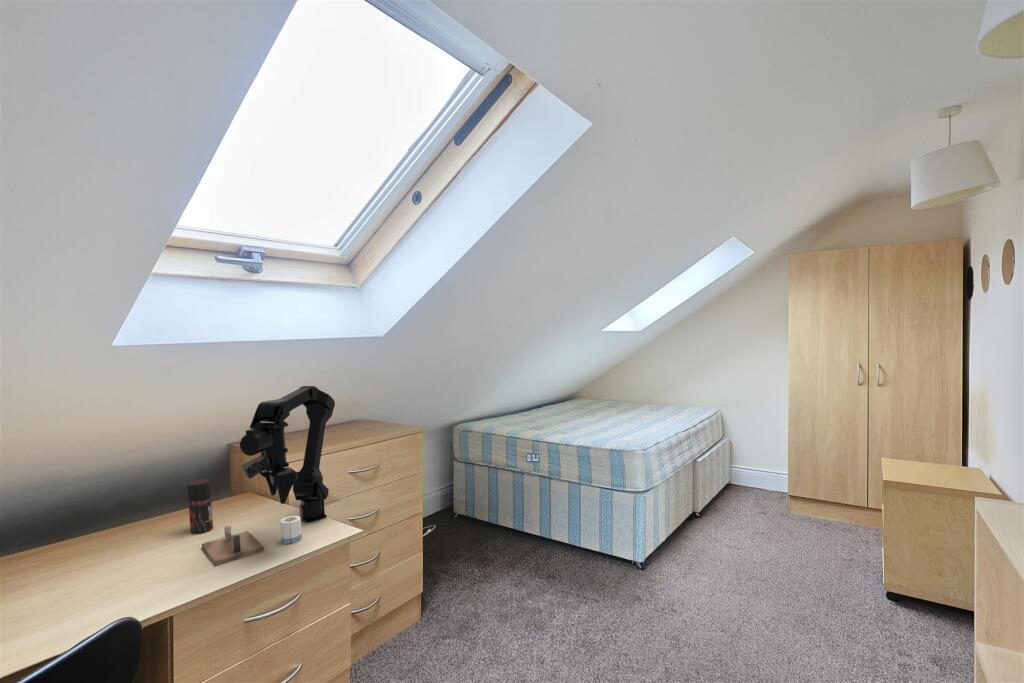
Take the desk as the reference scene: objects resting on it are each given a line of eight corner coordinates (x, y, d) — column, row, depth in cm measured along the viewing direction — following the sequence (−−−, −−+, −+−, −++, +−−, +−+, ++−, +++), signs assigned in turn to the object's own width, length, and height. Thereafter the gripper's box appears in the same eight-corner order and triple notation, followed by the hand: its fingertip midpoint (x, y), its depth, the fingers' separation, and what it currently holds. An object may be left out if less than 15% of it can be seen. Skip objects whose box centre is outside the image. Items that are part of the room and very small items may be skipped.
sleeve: (297, 534, 154) (296, 514, 154) (304, 539, 150) (302, 519, 150) (279, 539, 150) (277, 519, 150) (285, 545, 147) (284, 524, 146)
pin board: (247, 534, 155) (246, 517, 155) (263, 550, 144) (262, 532, 144) (201, 548, 147) (200, 530, 147) (215, 566, 136) (213, 546, 135)
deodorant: (211, 532, 158) (208, 483, 157) (188, 535, 156) (185, 486, 155) (214, 524, 163) (211, 477, 163) (192, 528, 161) (189, 480, 160)
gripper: (235, 445, 150) (239, 498, 151) (251, 458, 136) (256, 516, 137) (276, 437, 157) (279, 488, 158) (296, 449, 143) (299, 505, 144)
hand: (278, 499), depth 149 cm, fingers open, 9 cm apart
